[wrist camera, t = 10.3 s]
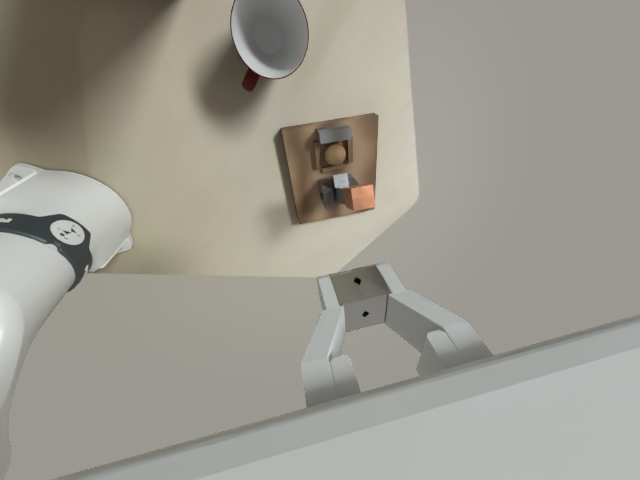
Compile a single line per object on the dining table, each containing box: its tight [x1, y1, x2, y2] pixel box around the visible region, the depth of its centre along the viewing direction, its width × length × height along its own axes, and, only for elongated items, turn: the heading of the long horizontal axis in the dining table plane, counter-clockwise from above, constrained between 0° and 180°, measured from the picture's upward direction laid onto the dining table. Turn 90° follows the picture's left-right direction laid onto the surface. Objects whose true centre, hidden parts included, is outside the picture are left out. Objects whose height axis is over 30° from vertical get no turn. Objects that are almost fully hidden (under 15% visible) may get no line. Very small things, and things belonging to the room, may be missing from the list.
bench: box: [281, 113, 378, 224], centre depth 44 cm, size 16×18×7 cm
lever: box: [330, 173, 375, 211], centre depth 37 cm, size 3×5×14 cm, turn 6°
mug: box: [230, 0, 309, 92], centre depth 30 cm, size 11×8×10 cm
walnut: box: [325, 143, 346, 166], centre depth 41 cm, size 4×4×4 cm
